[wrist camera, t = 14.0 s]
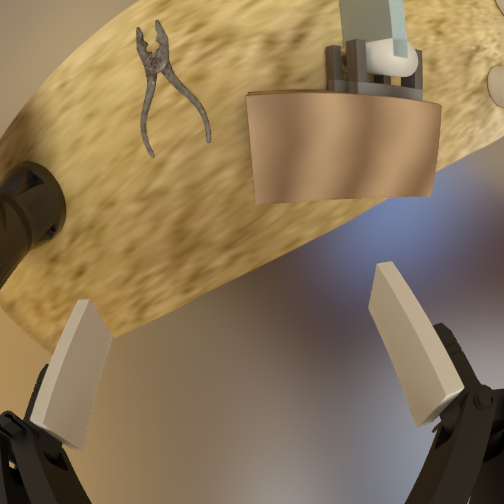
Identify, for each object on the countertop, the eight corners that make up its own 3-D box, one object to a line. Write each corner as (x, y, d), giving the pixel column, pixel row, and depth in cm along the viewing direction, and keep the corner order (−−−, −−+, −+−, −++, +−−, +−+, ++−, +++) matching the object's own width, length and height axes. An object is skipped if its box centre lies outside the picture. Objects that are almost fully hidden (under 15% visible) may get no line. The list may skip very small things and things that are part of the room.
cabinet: (249, 152, 38) (255, 205, 24) (240, 50, 30) (239, 27, 16) (374, 148, 38) (441, 196, 24) (374, 53, 30) (451, 51, 15)
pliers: (156, 168, 38) (96, 53, 28) (158, 166, 39) (98, 54, 28) (218, 139, 36) (156, 16, 26) (218, 138, 37) (158, 17, 27)
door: (336, 72, 32) (383, 74, 20) (328, -14, 24) (369, -48, 13) (363, 74, 32) (418, 79, 20) (356, -10, 24) (405, -38, 12)
